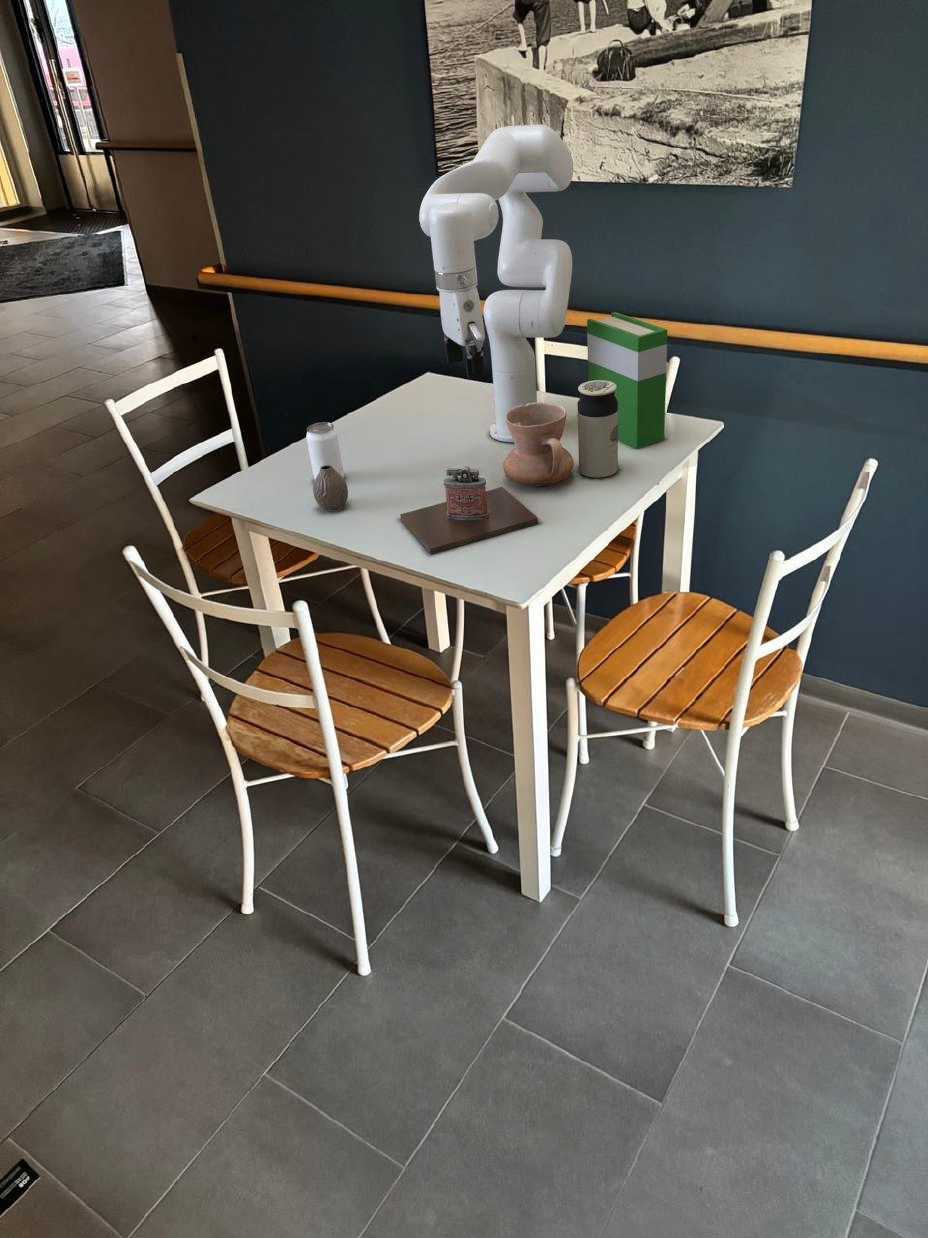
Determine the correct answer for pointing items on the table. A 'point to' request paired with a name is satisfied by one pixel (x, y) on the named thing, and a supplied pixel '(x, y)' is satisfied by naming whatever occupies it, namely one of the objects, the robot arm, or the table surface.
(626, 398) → the hardback book
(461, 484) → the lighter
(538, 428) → the ceramic jug
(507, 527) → the walnut board
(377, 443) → the table surface
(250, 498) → the table surface
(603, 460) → the travel mug
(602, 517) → the table surface
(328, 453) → the can
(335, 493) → the vase
